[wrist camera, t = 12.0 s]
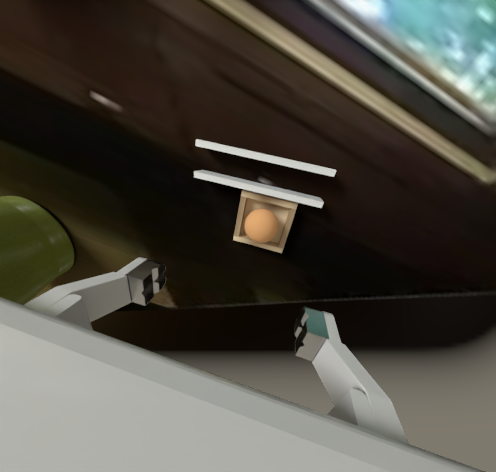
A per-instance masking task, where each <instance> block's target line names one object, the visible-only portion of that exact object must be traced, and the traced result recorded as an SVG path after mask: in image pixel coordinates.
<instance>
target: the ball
mask: <svg viewBox="0 0 496 472" xmlns="http://www.w3.org/2000/svg"><path fill="white" fill-rule="evenodd" d="M278 229H279V223H278V219H277V217H276V216H275V215H274V213H272V212H271V211H269V210H267V209H257V210H254V211H252V212H251V213H250V214H249V215H248V216H247V218H246V220H245V232H246V234H247V236H248V237H249V238H250V239H251V240H253V241H255V242H258V243H265V242H268V241H270V240H272V239H273V238H274V237H275V236H276V234H277V232H278Z"/></svg>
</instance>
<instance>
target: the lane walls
mask: <svg viewBox="0 0 496 472" xmlns="http://www.w3.org/2000/svg"><path fill="white" fill-rule="evenodd" d="M196 146H198V147H203V148H207V149H212V150H216V151H221V152H225V153H229V154H234V155H238V156H243V157H247V158H252V159H256V160H261V161H265V162H269V163H274V164H278V165H283V166H287V167H292V168H296V169H300V170H305V171H309V172H314V173H318V174H323V175H327V176H332V177H334V176H335V173H336V171H337V170H334V169H331V168H326V167H322V166H317V165H313V164H308V163H303V162H299V161H294V160H290V159H285V158H281V157H276V156H272V155H267V154H263V153H258V152H254V151H249V150H245V149H240V148H236V147H231V146H227V145H222V144H218V143H213V142H208V141H204V140H198V139H196ZM194 177H195V178H199V179H203V180H208V181H212V182H216V183H220V184H224V185H228V186H232V187H236V188H240V189H244V190H249V191H253V192H257V193H261V194H265V195H269V196H273V197H277V198H281V199H286V200H290V201H294V202H298V203H302V204H306V205H310V206H314V207H318V208H322V206H323V203H324V202H323V201H322V199H321V198H320V197H316V196H311V195H307V194H303V193H299V192H295V191H290V190H286V189H282V188H278V187H274V186H269V185H265V184H261V183H257V182H253V181H248V180H244V179H240V178H236V177H232V176H227V175H223V174H219V173H215V172H211V171H206V170H199V171H194Z"/></svg>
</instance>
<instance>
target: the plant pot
mask: <svg viewBox="0 0 496 472" xmlns="http://www.w3.org/2000/svg"><path fill="white" fill-rule="evenodd" d="M74 258H75V256H74V249H73V245H72V243H71V240H70V238H69V236H68V235H67V233H66V231H65V230H64V228H63V227H62V226H61V225H60V223H59V222H58V221H57V220H56V219H55V218H54V217H53V216H52V215H51V214H50V213H49V212H48V211H46V210H45V209H43V208H42V207H41V206H39V205H37V204H36V203H34V202H32V201H30V200H28V199H25V198H22V197H18V196H3V197H0V297H2V298H5V299H7V300H10V301H13V302H16V303H18V304H21V305H24V304H26V303H27V302H28V301H29V300H31V299H32V298H33V297H34V296H35V295H37V294H38V293H39V292H40V291H41V290H42V289H44V288H45V287H46V286H47V285H48V284H49V283H51V282H52V281H53V280H54V279H55V278H57V277H58V276H60V275H62V274H63V273H65V272H67V271H68V270H69V269H71V267H72V266H73V263H74Z"/></svg>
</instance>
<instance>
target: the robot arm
mask: <svg viewBox="0 0 496 472" xmlns="http://www.w3.org/2000/svg"><path fill="white" fill-rule="evenodd" d="M165 270H166V269H165V265H164V264H161V263H158V262H155V261H152V260H148V259H145V258H142V257H139V258H137V259H135V260H134V261H132V262H131V263H130V264H128V265H127V266H125V267H124V268H122V269H121V270H119V271H118V272H116V273H115V272H111V273H107V274H103V275H99V276H96V277H92V278H88V279H84V280H80V281H76V282H72V283H68V284H64V285H61V286H57V287H55V288H53V289H51V290H49V291H48V292H46V293H44V294H42V295H40V296H39V297H37V298H35V299H33V300H32V301H30V302H28V303H26V304H24V305H21V304H18V303H16V302H13V301H10V300H7V299H5V298H2V297H0V472H485V471H482V470H479V469H476V468H473V467H470V466H468V465H465V464H462V463H459V462H457V461H454V460H451V459H448V458H445V457H443V456H440V455H437V454H435V453H432V452H429V451H426V450H423V449H421V448H418V447H415V446H412V445H410V444H409V443H408V440H407V438H406V436H405V434H404V431H403V428H402V426H401V424H400V421H399V419H398V416H397V414H396V412H395V409H394V407H393V404H392V402H391V400H390V399H389V397H388V396H387V395H386V394H385V393H384V391H382V389H381V388H380V387H379V385H378V384H377V383H376V382H375V381H374V380H373V378H372V377H371V376H370V375H369V373H368V372H367V371H366V370H365V368H364V367H363V366H362V365H361V364H360V363H359V361H358V360H357V359H356V358H355V356H354V355H353V354H352V353H351V352H350V351H349V349H348V348H347V347H346V346H345V345H344V344H342V343H341V340H340V337H339V333H338V330H337V326H336V323H335V319H334V316H333V315H332V314H330V313H326V312H323V311H319V310H316V309H312V308H309V307H305V306H303V307H302V309H301V315H300V316H298V317H297V320H296V324H295V336H296V337H297V339H296V341H295V355H296V356H299V357H302V358H304V359H307V360H310V361H312V363H313V365H314V367H315V369H316V371H317V373H318V375H319V377H320V378H321V380H322V382H323V384H324V386H325V388H326V390H327V392H328V394H329V396H330V398H331V400H332V402H333V404H334V406H335V407H334V408H333V409H332V410H331V411H330V412H329V413H328V414H327V415H326V414H323V413H321V412H318V411H315V410H312V409H309V408H306V407H304V406H301V405H299V404H296V403H293V402H290V401H287V400H284V399H282V398H279V397H276V396H273V395H271V394H268V393H265V392H262V391H260V390H257V389H254V388H251V387H248V386H246V385H243V384H240V383H237V382H235V381H232V380H229V379H226V378H223V377H221V376H218V375H215V374H212V373H210V372H207V371H204V370H201V369H199V368H196V367H193V366H190V365H187V364H185V363H182V362H179V361H176V360H173V359H171V358H168V357H165V356H162V355H160V354H157V353H154V352H151V351H149V350H146V349H143V348H140V347H137V346H135V345H132V344H129V343H126V342H124V341H121V340H118V339H115V338H112V337H110V336H107V335H104V334H101V333H98V332H96V331H93V329H92V326H91V323H90V322H92V321H94V320H96V319H98V318H100V317H102V316H104V315H106V314H108V313H110V312H113V311H115V310H117V309H119V308H121V307H123V306H125V305H127V304H129V303H131V302H134V303H138V304H141V305H144V306H146V305H147V304H148V303H149V302H150V301H151V300H152V298H153V297H154V293H157V292H159V291H160V290H161V289H162V288H163V286H164V284H165V281H166V276H165V274H164V273H163V272H164V271H165Z"/></svg>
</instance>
